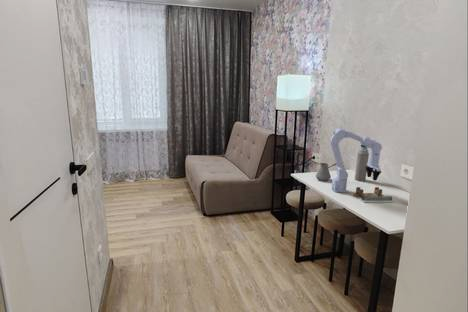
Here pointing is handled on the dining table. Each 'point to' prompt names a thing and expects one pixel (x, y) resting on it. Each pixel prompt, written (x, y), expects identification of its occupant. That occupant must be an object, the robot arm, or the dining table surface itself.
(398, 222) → the dining table surface
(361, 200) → the pad
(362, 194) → the rack
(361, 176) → the thermos bottle
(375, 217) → the dining table surface
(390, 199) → the rail
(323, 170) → the coffee pot
